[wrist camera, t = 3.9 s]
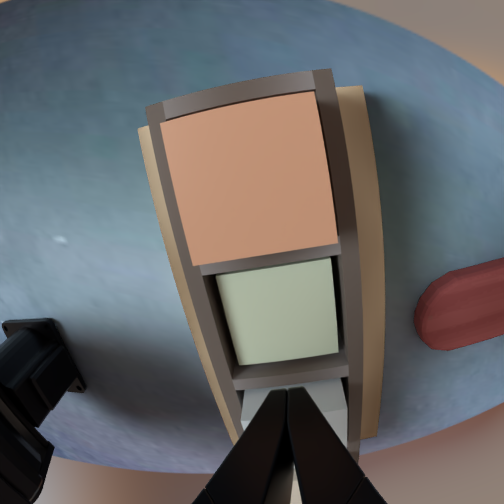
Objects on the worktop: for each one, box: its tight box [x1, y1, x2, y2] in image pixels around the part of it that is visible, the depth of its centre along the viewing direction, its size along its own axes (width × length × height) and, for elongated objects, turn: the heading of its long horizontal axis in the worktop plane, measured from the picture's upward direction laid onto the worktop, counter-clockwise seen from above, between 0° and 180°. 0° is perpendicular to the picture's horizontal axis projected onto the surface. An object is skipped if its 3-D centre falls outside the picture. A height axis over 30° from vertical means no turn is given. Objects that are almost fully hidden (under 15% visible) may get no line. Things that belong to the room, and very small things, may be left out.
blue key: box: [241, 378, 347, 469], centre depth 13 cm, size 4×4×3 cm
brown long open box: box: [138, 69, 385, 464], centre depth 14 cm, size 10×21×6 cm, turn 11°
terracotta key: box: [160, 91, 338, 266], centre depth 9 cm, size 4×4×3 cm
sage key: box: [216, 256, 339, 365], centre depth 13 cm, size 4×4×3 cm
